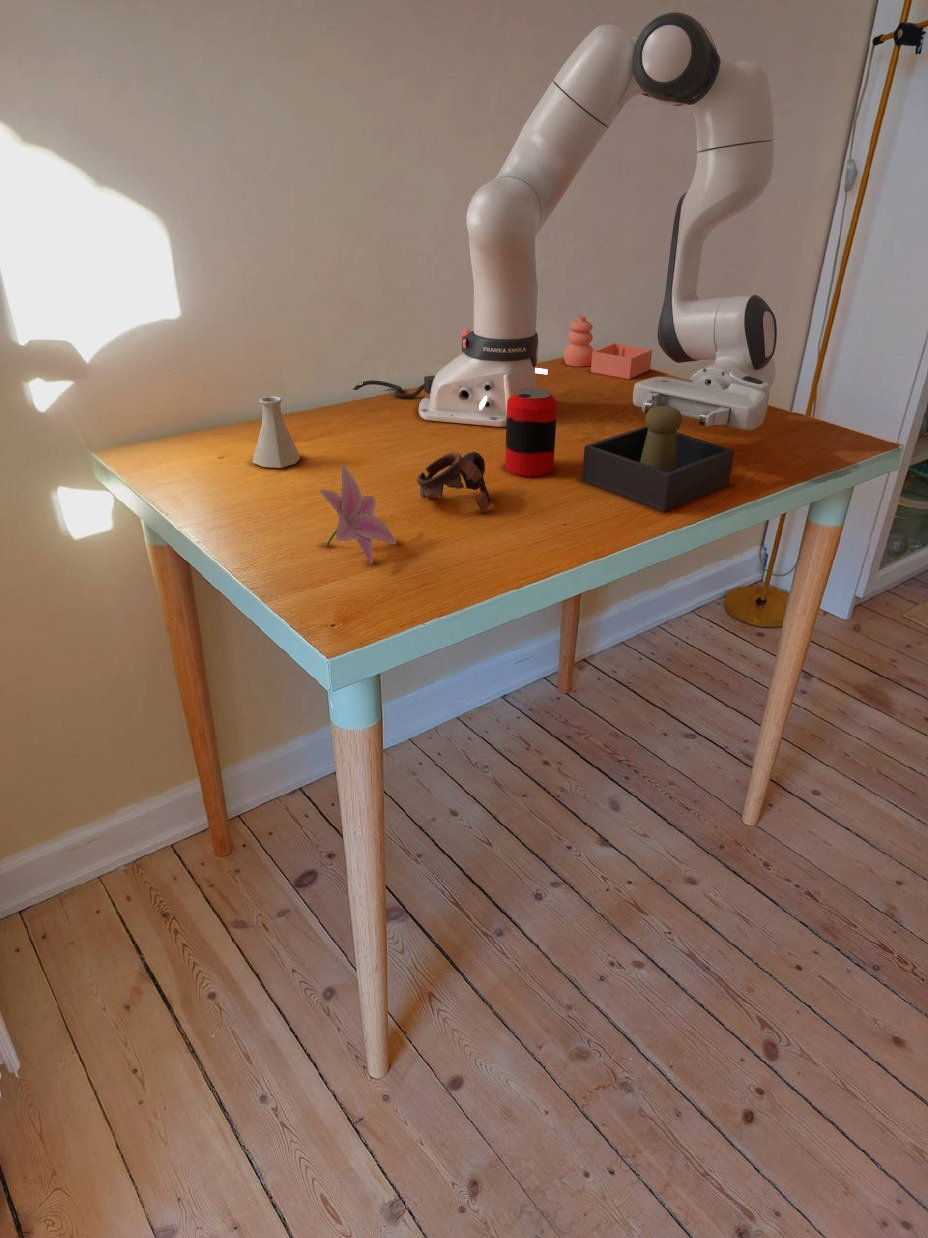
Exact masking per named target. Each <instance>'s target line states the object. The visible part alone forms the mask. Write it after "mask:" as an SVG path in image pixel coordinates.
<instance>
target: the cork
mask: <svg viewBox="0 0 928 1238" xmlns="http://www.w3.org/2000/svg"><path fill="white" fill-rule="evenodd" d="M644 420H645V421H644V422H645V426H647V428H648V432H647V436H646V440H645V444H644V448H643V452H642V456H641V460H640V463H642V464H645V465H648V466H651V467H654V468H657V469H660V470H663V471H666V472H670V471H673V470H676V469H677V445H676V432H678V430H679V429H680V428H681V426H682V421H683V416H682V415H681V413H680V411H679V410H678V409H676V408H674V407H670V406H656V407H653V408H651V409H650V410H649V411H648V412H647V413H646V415H645V419H644Z"/></svg>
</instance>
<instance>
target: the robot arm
mask: <svg viewBox="0 0 928 1238" xmlns="http://www.w3.org/2000/svg"><path fill="white" fill-rule="evenodd" d="M638 95H643V96H645V97H648V98H650V99H652V100H653V101H655V102H657V103H659V104H661V105H665V106H666V105H667V106H672V107H673V106H674V107H680V106H685V107H686V108H689V110H690V111H691V114H692V116H693V118H694V123H695V131H696V165H695V170H694V174H693V177H692V181H691V183H690V186H689V188H688V190H687V191H686V192H684V194H682V195H681V196H680V198H679V200H678V202H677V205H676V208H675V209H676V210H675V213H674V218H673V226H672V232H671V238H670V239H671V241H670V248H669V258H668V266H667V272H666V273H667V274H666V281H665V282H666V283H665V290H664V298H663V304H662V308H661V312H660V316H659V320H658V326H657V343H658V346H659V347H660V348H661V350H662V351H663V353H664V354H665V355H666V356H667V357H668V358H669V359H670V360H672V361H673V362H675V363H677V364H681V363H689V362H690V363H691V362H698V361H707V360H712V361H713V360H715V361H714V363H711V364H710V365H707V366H705V367H703V368H701V369H699V370H697V371H696V372H695V373H693V374H692V375H691V377H690V378H689V380H684V379H678V378H674V377H670V376H669V377H668V376H653V377H649V378H645V379H643V380H639V381H637V382H635V383H634V387H633V391H632V403H633V405H634V406H635V407H638V408H641V412H642V413H644V414H647V412H648V411H649V410H650V409H651V408H653V407H656V406H670V407H674V408H676V409H678V410H679V411H680V413H681V415H682V418H683V417H684V418H687V419H693V420H696V421H698V425H699V426H702V427H707V428H709V427H712V426H717V425H718V426H719V425H720V426H725V427H728V428H734V429H739V430H742V431H753V430H755V429H757V428H758V427H760V426H761V425H762V424H763V423H764V421H765V418H766V414H767V412H768V406H769V399H770V392H771V391H770V389H771V387H772V386H773V384H774V382H775V379H776V373H777V372H776V362H775V361H774V358H773V356H774V354H775V352H776V348H777V347H776V346H777V339H778V325H777V319H776V317H775V314H774V312H773V310H772V309H771V307H770V306H769V304H768V303H767V302H766V301H765V300H764V298H763V297H761V296H760V295H758V294H751V295H750V294H749V295H730V296H725V297H710V298H699V297H698V294H697V289H698V288H697V287H698V281H699V274H700V266H701V258H702V252H703V250H702V249H703V247H704V242H705V240H706V238H707V237H708V235H709V234H710V233H711V232H712V231H713V230H714V229H715V228H716V227H717V226H719V225H720V224H722V223H723V222H725V221H727V220H729V219H730V218H732V217H735V216H736V215H738V214H740V213H742V211H744V210H746V209H748V208H749V207H750V206H751V205H752V204H754V203H755V202H756V201H757V200H758V199H759V198H760V197H761V195H763V194H764V191H765V190H766V189H767V187H768V185H769V184H770V181H771V178H772V174H773V168H774V167H773V166H774V152H775V151H774V149H775V148H774V141H775V140H774V139H775V138H774V137H775V135H774V114H773V105H772V104H773V103H772V97H771V90H770V85H769V78H768V75H767V72H766V71H765V69H764V68H763V67H762V66H761V65H759V64H757V63H755V62H753V61H749V60H731V61H725V60H722V59H721V57H720V54H719V53H718V48H717V46H716V43H715V41H714V39H713V37H712V35H711V33H710V31H709V29H708V28H707V27H706V26H705V25H704V24H703V23H702V22H700V21H699V20H697V19H695V18H694V17H692V16H691V15H689V14H687V13H683V12H677V11H675V12H674V11H673V12H666V13H663V14H660V15H659V16H656V17H655V18H653V19H652V20H651V21H650V22H648V24H647V25H646V26H644V28H643V29H642V30H641V32H640V34H639V35H638V36H635V35H632V34H631V33H630V32H628V31H627V30H626V29H624V28H622V27H620V26H618V25H615V24H610V23H606V24H600V25H598V26H596V27H594V29H593V30H591V31H590V32H589V34H587V35H586V37H585V38H584V39H583V40H582V41H581V42H580V43H579V45H578V46H577V47H576V48H574V50H573V52H572V53H571V54H570V55H569V57H568V58H567V59H566V61H565V62H564V63H563V65H562V66H561V68H560V69H559V71H558V72H557V73H556V75H555V76H554V78H553V80H552V81H551V82H550V84H549V86H548V87H547V89H546V90H545V92H544V94H543V95H542V97H541V98H540V99H539V101H538V103H537V104H536V106H535V107H534V109H533V111H532V112H531V114H530V115H529V117H528V119H527V120H526V122H525V123H524V125H523V127H522V128H521V131H520V133H519V135H518V137H517V139H516V140H515V143H514V144H513V146H512V148H511V150H510V151H509V154H508V156H507V157H506V159H505V162H504V163H503V164H502V166H501V168H500V170H499V171H498V173H497V174H496V176H495V177H494V179H492V180H491V181H489V182H487V183H485V184H483V185H482V186H480V187H479V188H478V189H477V190H476V191H475V192H474V194H473V196H472V197H471V200H470V201H469V203H468V206H467V211H466V217H465V219H466V220H465V222H466V223H465V224H466V229H467V232H468V233H467V234H468V247H469V256H470V257H469V258H470V265H471V272H472V280H473V281H472V282H473V329H472V331H471V330H470V329H468V328H465V329H463V330H462V331H461V334H460V340H461V352H462V353H460V354H459V355H458V356H456V357H455V358H454V359H452V360H451V361H450V362H448V363H447V364H446V365H444V366H443V367H442V368H440V369H439V370H438V371H437V373H436V374H435V375H426V376H424V377H423V384H421V385H420V386H419V387H417V389H416V390H415V391H414V392H411V393H401V392H402V390H403V388H402V386H400V385H397V384H394V383H392V382H387V381H381V380H372V379H371V380H366V381H362V382H363V384H362V385H358V384H356V385H355V386H353V388H352V390H353V391H358V390H359V389H360V388H361V389H362V388H363V387H365V386H371V385H373V386H374V385H376V386H382V387H387V388H390V389H394V390H395V391H394V396H396V397H397V398H400V399H413V398H415V397H417V396H418V395H420V393H421V392H422V391H423V392H425V393H427V394H428V395H426V396H425V397H423V398H421V400H420V402H419V404H418V405H419V406H418V415H419V416H420V418H422V419H423V420H425V421H432V422H443V423H453V424H463V425H464V424H465V425H474V426H476V425H477V426H486V427H497V428H498V427H499V428H506V418H507V400H508V399H509V398H510V397H511V395H512V394H513V393H514V391H515V390H517V389H521V388H538V386H537V374H540V375H548V369H546V368H539V367H536V366H537V365H538V358H539V342H540V341H539V334H538V333H537V315H538V314H537V313H538V291H539V284H538V277H537V263H536V235H538V233H539V232H540V231H541V229H543V226H544V225H545V224H546V222H547V221H548V219H549V217H550V216H551V215H552V213H553V211H555V209H556V207H557V205H558V204H559V202H560V201H561V199H562V198H563V196H564V195H565V193H566V192H567V190H568V189H569V187H570V186H571V184H572V182H573V181H574V179H575V177H576V176H577V174H578V173H579V171H580V170H581V169H582V167H583V165H584V164H586V163H585V162H587V160H588V158H589V157H590V156H591V154H592V153H593V151H594V150H595V148H596V147H597V145H598V144H599V143H600V141H601V140H602V138H603V137H604V136H605V134H606V133H607V131H608V130H609V127H611V125H612V124H613V122H614V121H615V119H616V117H617V116H619V113H620V112H621V111H622V109H623V108H624V107H625V105H627V103H628V102H629V101H630V100H632V99H633V98H635V97H636V96H638Z"/></svg>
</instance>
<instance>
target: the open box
mask: <svg viewBox="0 0 928 1238" xmlns="http://www.w3.org/2000/svg"><path fill="white" fill-rule="evenodd" d="M647 432H648V428H647V426H646V425H645V426H641V427H638V428H635V429H633V430H629V431H626V432H622V433H620V434H617V435H614V436H611V437H607V438H604V439H602V440H598V441H596V442H592V443H588V444H586V445H584V449H583V461H582V462H583V463H582V473H581V474H582V476H581V481H582V483H583V482H584V483H586V484H588V485H592V486H593V487H597V488H599V489H602V490H604V491H607V492H610V493H612V494H614V495H617V496H619V497H623V498H625V499H628V500H630V501H633V502H636V503H637V504H641V505H643V506H646V507H649V508H651V509H653V510H657V511H659V512H662V513H667V512H669V511H671V510H674V509H676V508H678V507H681V506H683V505H686V504H688V503H690V502H693V501H696V500H698V499H700V498H703V497H704V496H707V495H709V494H712V493H715V492H716V491H719V490H721V489H724V488H727V487H728V486H729V485H730V480H731V473H732V468H733V461H734V455H735V449H732V448H728V447H725V446H722V445H719V444H715V443H712V442H709V441H706V440H703V439H700V438H696V437H693V436H689V435H686V434H684V433H680V432H678V431H676V445H677V469H676V470H673V471H670V472H666V471H663V470H660V469H657V468H654V467H651V466H648V465H645V464H642V463H640V460H641V456H642V452H643V448H644V444H645V440H646V436H647Z"/></svg>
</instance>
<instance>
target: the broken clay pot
mask: <svg viewBox="0 0 928 1238" xmlns="http://www.w3.org/2000/svg"><path fill="white" fill-rule="evenodd" d="M446 468H447V469H446ZM425 471H426V472H427V475H426V474H425V473H424V472H423V471H422V472H421V473H419V475H418V476H417V479H416V482H417V484H418V485H419V486H420V489H419V495H420V497H421V498H422V499H426V498H427V499H431V498H433V497H435V498H437V499H440V500H443V499H444V497H443V492H444V486H446V487H447V488H450V489H452V488H453V489H457V490H460V489H461V490H462V489H463V488H466V489H467V490H468V489H469V490H473V491H478V489H479V492H480V494H479V496H478V497H477V498H476V499H475V503H476V504H477V506H478V509H479V512H480V513H481V514H482V513H484V512H485V511H487V509H488V508H489V507H490V505H491V503H492V501H491V497H490V494H489V491H488V489H487V486H486V481H485V478H484V475H485V471H486V463H485V459H484V457H483V456H482V455H481V454H480V453H479V452H477V451H471V452H467V453H466V454H465V455H463V456H462V454H461V453H460V452H449V453H446V454H444V455H442V456H441V457H438V458H437V459H436V460H434V461H432V462H431V463H429V464H428V465H427V466H426V467H425ZM441 471H442V472H441ZM439 472H441V473H439ZM438 473H439V474H438ZM462 478H463V481H464V483H463V482H462Z"/></svg>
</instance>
